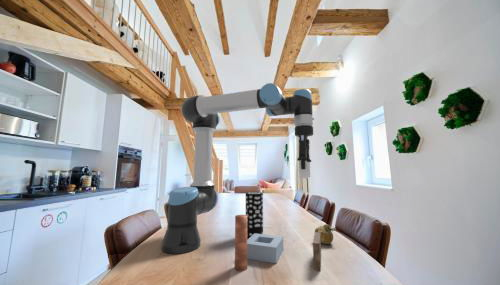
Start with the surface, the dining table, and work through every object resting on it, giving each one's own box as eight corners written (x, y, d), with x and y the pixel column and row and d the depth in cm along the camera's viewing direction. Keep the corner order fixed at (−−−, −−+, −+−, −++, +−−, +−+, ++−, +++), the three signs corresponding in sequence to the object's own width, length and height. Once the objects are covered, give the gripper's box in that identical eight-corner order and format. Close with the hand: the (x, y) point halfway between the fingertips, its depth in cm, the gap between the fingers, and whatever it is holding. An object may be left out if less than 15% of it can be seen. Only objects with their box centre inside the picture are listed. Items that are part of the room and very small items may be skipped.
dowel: (232, 269, 63) (233, 216, 65) (237, 264, 67) (238, 214, 69) (244, 271, 62) (244, 217, 64) (249, 266, 65) (249, 215, 68)
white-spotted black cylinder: (265, 235, 96) (265, 192, 99) (259, 240, 89) (258, 194, 91) (250, 232, 100) (250, 191, 102) (242, 238, 92) (242, 193, 95)
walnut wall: (313, 269, 63) (312, 242, 64) (315, 254, 74) (314, 231, 75) (320, 270, 62) (319, 243, 63) (321, 255, 74) (320, 232, 75)
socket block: (243, 257, 71) (243, 243, 72) (254, 246, 83) (254, 233, 83) (276, 263, 67) (276, 247, 68) (283, 250, 78) (283, 236, 79)
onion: (325, 239, 91) (324, 220, 92) (338, 245, 84) (337, 225, 85) (311, 240, 89) (310, 222, 90) (323, 247, 81) (322, 226, 82)
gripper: (310, 118, 71) (313, 179, 68) (314, 131, 94) (316, 176, 91) (289, 120, 74) (291, 178, 71) (298, 132, 97) (299, 176, 94)
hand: (305, 177), depth 81 cm, fingers open, 13 cm apart
